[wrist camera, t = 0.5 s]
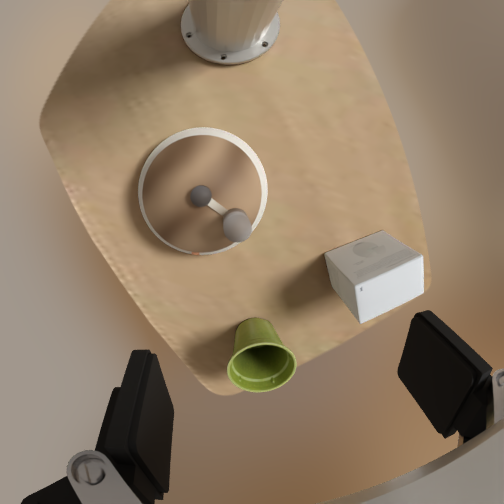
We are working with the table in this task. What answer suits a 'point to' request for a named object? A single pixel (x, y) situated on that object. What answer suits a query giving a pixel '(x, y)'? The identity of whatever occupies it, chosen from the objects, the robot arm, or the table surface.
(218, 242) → the dial
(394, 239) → the skincare box
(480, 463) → the robot arm
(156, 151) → the stand
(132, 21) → the table surface
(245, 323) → the plant pot
